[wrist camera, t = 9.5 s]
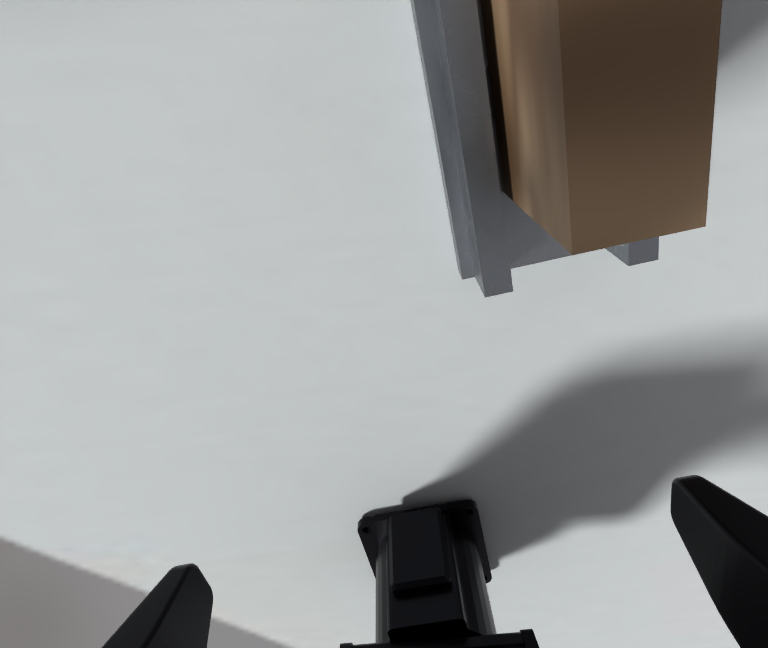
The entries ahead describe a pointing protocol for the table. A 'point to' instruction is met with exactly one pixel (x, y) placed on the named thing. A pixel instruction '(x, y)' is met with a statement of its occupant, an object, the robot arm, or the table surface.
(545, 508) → the table surface
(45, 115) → the table surface
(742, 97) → the table surface
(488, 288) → the floor track
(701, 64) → the brown wooden block
